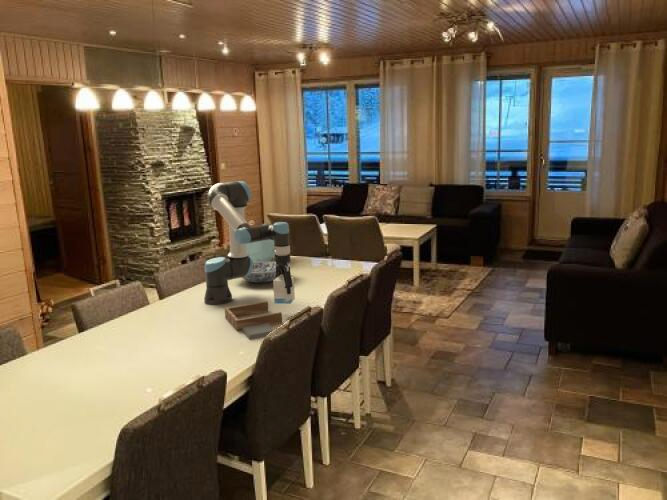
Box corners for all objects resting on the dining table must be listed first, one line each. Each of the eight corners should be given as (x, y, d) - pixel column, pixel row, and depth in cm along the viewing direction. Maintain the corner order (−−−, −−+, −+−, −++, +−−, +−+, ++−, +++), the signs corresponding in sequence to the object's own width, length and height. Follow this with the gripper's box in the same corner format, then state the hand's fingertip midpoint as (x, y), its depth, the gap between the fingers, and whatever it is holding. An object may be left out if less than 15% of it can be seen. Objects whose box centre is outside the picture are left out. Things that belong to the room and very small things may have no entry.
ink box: (290, 304, 276) (289, 277, 273) (274, 303, 278) (272, 277, 275) (295, 298, 284) (294, 273, 282) (279, 298, 286) (277, 272, 283)
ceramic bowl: (301, 277, 356) (300, 262, 354) (266, 291, 327) (265, 274, 325) (259, 272, 374) (258, 257, 372) (222, 285, 346) (221, 269, 344)
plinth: (242, 331, 260) (241, 327, 260) (267, 326, 265) (266, 322, 264) (249, 339, 249) (249, 335, 249) (275, 334, 254) (275, 330, 254)
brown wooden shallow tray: (225, 317, 281) (224, 308, 280) (267, 310, 290) (267, 301, 289) (237, 331, 261) (236, 320, 260) (282, 323, 269) (281, 313, 268)
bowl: (238, 260, 415) (235, 231, 411) (285, 258, 414) (283, 229, 409) (227, 271, 381) (225, 239, 376) (279, 269, 379) (277, 237, 375)
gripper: (267, 250, 285) (269, 291, 290) (283, 259, 264) (285, 304, 269) (281, 248, 288) (283, 289, 293) (298, 257, 267) (300, 302, 272)
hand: (284, 296), depth 281 cm, fingers closed on ink box, 11 cm apart
